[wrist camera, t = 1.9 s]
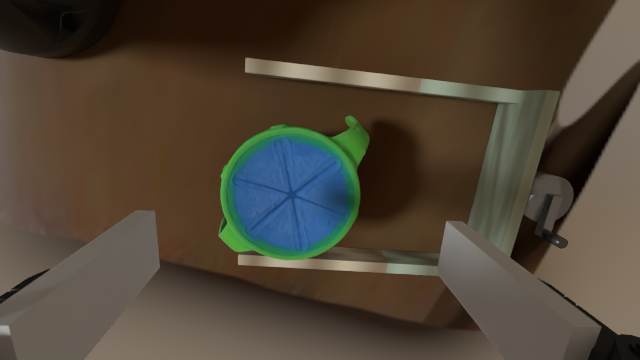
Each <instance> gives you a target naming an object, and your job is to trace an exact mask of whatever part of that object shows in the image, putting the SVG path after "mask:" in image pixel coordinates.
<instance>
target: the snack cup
mask: <svg viewBox="0 0 640 360" xmlns="http://www.w3.org/2000/svg"><path fill="white" fill-rule="evenodd" d="M345 120H346V123H347V125H348V127H349V128H350V129H348V130H347V131H345V132H343V133H341V134H339V135H336V136H334V137H329V136H326V135H324V134H322V133H320V132H318V131H315V130H312V129H309V128H305V127H299V126H288V125H287V124H281V125H276V126H272V127H271V128H270V129H268V130H266V131H263V132H261V133H259V134H257V135H255V136H253V137H252V138H250V139H249V140H247V141H246V142H245V143H244V144H243V145H242V146H241V147H240V148H239V149H238V150H237V151H236V152H235V154H234V155H233V156H232V158H231V160H230V161H229V163H228V164H227V165H225V166H224V169H223V172H222V174H221V179H222V183H221V204H222V209H223V212H224V215H225V217H224V218H223V219H222V221H221V225H220V230H219V237H220V238H221V239H222V240H223V241H224V242H225V243H226V244H227V245H228V246H229V247H230V248H231V249H233V250H234V251H236V252H245V251H250V250H254V251H256V252H258V253H260V254H263V255H265V256H268V257H271V258H275V259H281V260H303V259H307V258H310V257H313V256H317V255H319V254H321V253H323V252H325V251H327V250H329V249H330V248H332V247H333V246H335V245H336V244H337V243H338V242H339V241H340V240H341V239H342V238H343V237H344V236H345V235H346V233H347V232H348V231H349V229H350V228H351V226H352V224H353V223H354V222H355V220H356V218H357V216H358V209H359V205H360V184H359V179H358V176H357V168H358V166H359V164H360V162H361V160H362V158H363V156H364V155H365V153H366V149H367V147H368V145H369V140H370V138H369V135H368V133H367V132H366V131H365V130H364V128H363V127H362V126H361V124H360V123H359V122H358V120H357V119H356V118H354V117H352V116H347V117H346V119H345Z"/></svg>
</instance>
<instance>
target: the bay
mask: <svg viewBox="0 0 640 360" xmlns="http://www.w3.org/2000/svg"><path fill="white" fill-rule="evenodd" d="M245 72H246V73H248V74H250V75H256V76H265V77H274V78H283V79H291V80H300V81H309V82H318V83H326V84H335V85H344V86H352V87H361V88H370V89H379V90H387V91H396V92H405V93H413V94H422V95H431V96H440V97H448V98H457V99H466V100H475V101H483V102H492V103H498V107H497V111H496V115H495V119H494V123H493V127H492V130H491V134H490V138H489V142H488V146H487V150H486V154H485V158H484V162H483V166H482V170H481V174H480V178H479V182H478V185H477V189H476V193H475V197H474V201H473V205H472V209H471V213H470V217H469V221H468V225H467V226H469V227H470V228H471V229H473V230H474V231H475V232H477V233H478V234H479V235H481V236H482V237H483V238H485V239H486V240H487V241H489V242H490V243H491V244H493V245H494V246H495V247H497V248H498V249H499V250H500V251H502V252H503V253H504V254H506V255H507V256H508V257H510V256H511V253H512V249H513V246H514V243H515V240H516V236H517V233H518V230H519V226H520V223H521V220H522V217H523V213H524V210H525V207H526V203H527V200H528V197H529V194H530V190H531V187H532V184H533V180H534V177H535V174H536V171H537V167H538V164H539V161H540V157H541V154H542V151H543V148H544V144H545V141H546V138H547V135H548V131H549V128H550V125H551V121H552V118H553V115H554V112H555V108H556V105H557V102H558V98H559V95H560V92H561V91H553V90H530V91H520V90H512V89H503V88H495V87H487V86H478V85H470V84H462V83H453V82H445V81H436V80H428V79H420V78H411V77H403V76H395V75H386V74H378V73H370V72H361V71H353V70H345V69H336V68H328V67H320V66H311V65H303V64H294V63H286V62H278V61H269V60H261V59H253V58H246V61H245ZM439 257H440V253H426V252H410V251H394V250H378V249H362V248H346V247H332V248H330V249H329V250H327V251H325V252H323V253H321V254H319V255H317V256H313V257H310V258H307V259H303V260H281V259H275V258H271V257H268V256H265V255H263V254H260V253H258V252H256V251H254V250H250V251H245V252H239V254H238V265H252V266H270V267H289V268H307V269H325V270H343V271H361V272H379V273H397V274H415V275H433V276H439V275H438V274H437V268H438V262H439Z"/></svg>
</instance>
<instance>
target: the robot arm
mask: <svg viewBox="0 0 640 360" xmlns="http://www.w3.org/2000/svg"><path fill="white" fill-rule="evenodd" d="M119 1H120V0H0V49H2V50H5V51H9V52H14V53H19V54H25V55H31V56H37V57H63V56H68V55H72V54H75V53H78V52H80V51H82V50H84V49H86V48H88V47H90V46H91V45H92V44H94V43H95V42H96V41H97V40H99V39H100V38H101V37H102V36H103V34H104V33H105V32H106V31H107V29H108V28H109V26H110V25H111V23H112V21H113V19H114V17H115V14H116V12H117V9H118V5H119ZM159 268H160V264H159V253H158V242H157V231H156V219H155V211H140V210H136V211H134V212H133V213H132V214H130V215H129V216H127V217H126V218H124V219H123V220H121V221H120V222H119V223H117V224H116V225H114V226H113V227H111V228H110V229H108V230H107V231H105V232H104V233H103V234H101V235H100V236H98V237H97V238H95V239H94V240H92V241H91V242H90V243H88V244H87V245H85V246H84V247H82V248H81V249H79V250H78V251H77V252H75V253H74V254H72V255H71V256H69V257H68V258H66V259H65V260H63V261H62V262H61V263H59V264H58V265H56V266H55V267H53V268H52V269H48V270H45V271H43V272H41V273H38V274H36V275H34V276H32V277H30V278H27V279H26V280H24V281H23V282H21V283H20V284H18V285H17V286H15V287H14V288H12V289H11V291H10V292H7V293H5V294H4V295H2V296H0V360H84V359H85V358H86V356H87V355H88V354H89V353H90V352H91V351H92V349H93V348H94V347H95V346H96V344H97V343H98V342H99V341H100V340H101V338H102V337H103V336H104V334H105V333H106V332H107V331H108V330H109V329H110V327H111V326H112V325H113V324H114V323H115V321H116V320H117V319H118V318H119V316H120V315H121V314H122V313H123V312H124V310H125V309H126V308H127V307H128V306H129V304H130V303H131V301H133V299H134V298H135V297H136V296H137V295H138V293H139V292H140V291H141V290H142V288H143V287H144V286H145V285H146V284H147V282H148V281H149V280H150V279H151V278H152V276H153V275H154V274H155V273H156V271H157V270H158V269H159ZM437 274H438V275H439V276H440V278H441V279H442V280H443V281H444V283H445V284H446V285H447V287H448V288H449V289H450V290H451V292H452V293H453V294H454V295H455V297H456V298H457V299H458V300H459V302H460V303H461V304H462V306H463V307H464V308H465V309H466V311H467V312H468V313H469V314H470V316H471V317H472V318H473V320H474V321H475V322H476V323H477V325H478V326H479V327H480V328H481V330H482V331H483V332H484V333H485V335H486V336H487V337H488V339H489V340H490V341H491V342H492V344H493V345H494V346H495V347H496V349H497V350H498V351H499V353H500V354H501V355H502V356H503V358H504V359H505V360H640V338H639V337H636V336H632V335H624V334H621V335H617V334H616V333H615V332H613V331H612V330H611V329H609V328H608V327H607V326H605V325H604V324H603V323H601V322H600V321H599V320H597V319H596V318H595V317H593V316H592V315H590V314H589V313H588V312H587V311H585V310H584V309H582V308H581V307H580V306H576V304H575V303H574V302H573V301H572V300H570V299H569V298H568V297H564V294H562V293H561V292H559V291H558V290H557V289H555V288H554V287H553V286H551V285H550V284H548V283H546V282H544V281H542V280H540V279H538V278H536V277H535V276H534V275H532V274H531V273H530V272H528V271H527V270H526V269H524V268H523V267H522V266H520V265H519V264H518V263H516V262H515V261H514V260H512V259H511V258H510V257H508V256H507V255H506V254H504V253H503V252H502V251H500V250H499V249H498V248H497V247H495V246H494V245H493V244H491V243H490V242H489V241H487V240H486V239H485V238H483V237H482V236H481V235H479V234H478V233H477V232H475V231H474V230H473V229H471V228H470V227H469V226H467V225H466V224H465V223H463V222H462V221H446V226H445V231H444V236H443V242H442V247H441V252H440V257H439V262H438V268H437Z"/></svg>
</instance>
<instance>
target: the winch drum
mask: <svg viewBox="0 0 640 360" xmlns="http://www.w3.org/2000/svg"><path fill="white" fill-rule="evenodd" d="M572 201H573V188H572V186H571V184H570V183H569V182H568V181H567V180H566V179H564V178H562V177H558V176H555V175H552V174H548V173H545V172H542V171H538V170H537V171H536V174H535V177H534V180H533V184H532V187H531V190H530V194H529V197H528V200H527V203H526V207H525V210H524V213H523V215H524V216H526V217H528V218H530V219H532V220H534V221H536V222H538V224H537V227H536V230H535V234H536V235H538V236H539V237H541V238H543V239H545V240H546V241H548V242H550V243H552V244H553V245H555V246H557V247H559V248H565V247H566V246H567V244H568V241H567V240H566V239H564V238H562V237H561V236H559V235H557V234H555V233H553V232H551V231H552V228H553V225H554V222H555V220H557V219H559V218H560V217H562V216H563V215H564V214H565V213H566V212H567V211H568V209H569V208H570V206H571V204H572Z"/></svg>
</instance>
